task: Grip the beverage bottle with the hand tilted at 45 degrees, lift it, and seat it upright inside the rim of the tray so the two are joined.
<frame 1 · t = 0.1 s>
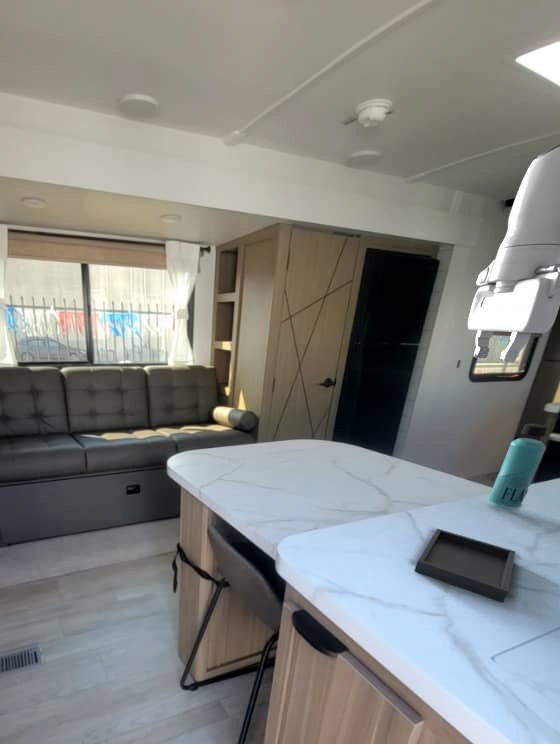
hand: (492, 360, 72), 33 cm above the table, tool pointing down, fingers open, 8 cm apart
beverage bottle: (501, 508, 97), on the table
tray: (464, 565, 72), on the table
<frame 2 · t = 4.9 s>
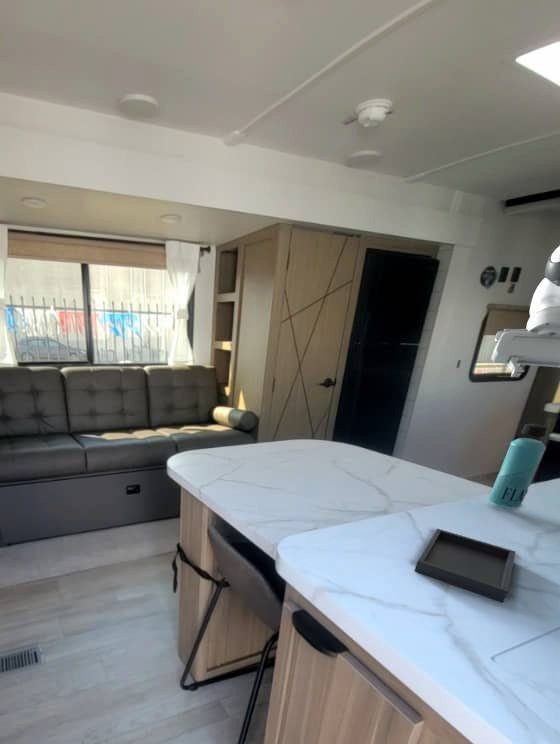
hand: (541, 377, 94), 29 cm above the table, tool tilted 45°, fingers open, 8 cm apart
nothing on the table moved.
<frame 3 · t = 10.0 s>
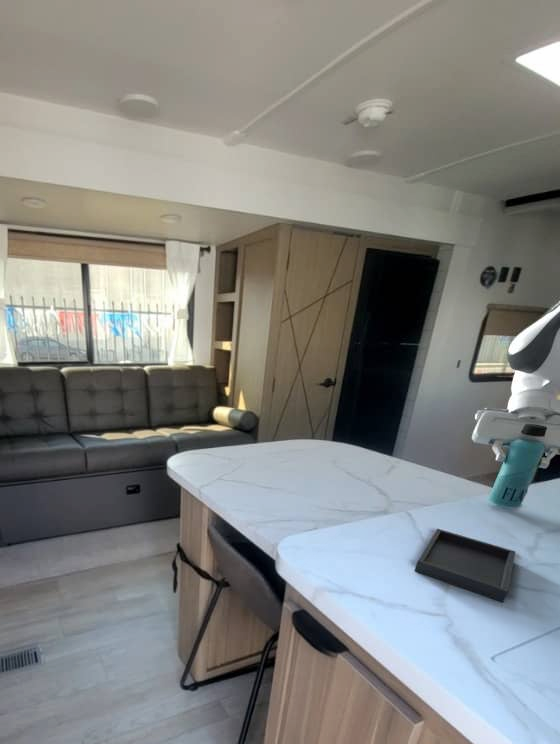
hand: (521, 463, 91), 11 cm above the table, tool tilted 45°, fingers closed on beverage bottle, 6 cm apart
beverage bottle: (501, 508, 97), on the table, touching gripper
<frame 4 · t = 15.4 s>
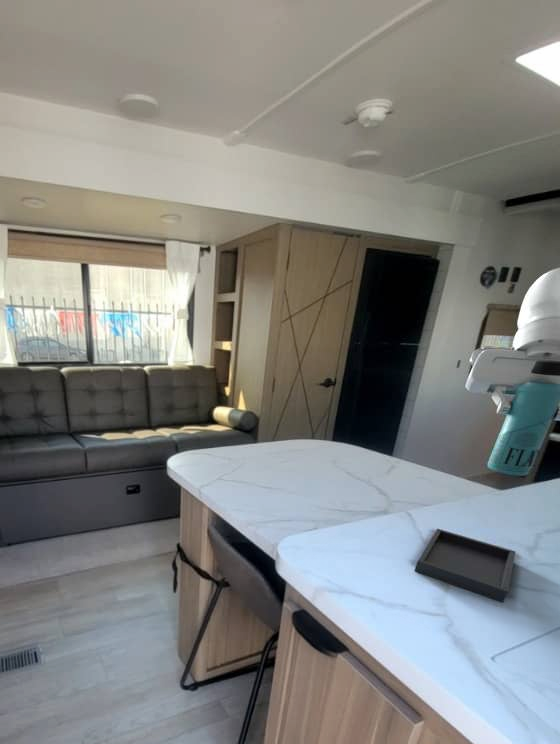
hand: (531, 415, 68), 26 cm above the table, tool tilted 45°, fingers closed on beverage bottle, 6 cm apart
beverage bottle: (503, 478, 74), point 14 cm above the table, touching gripper
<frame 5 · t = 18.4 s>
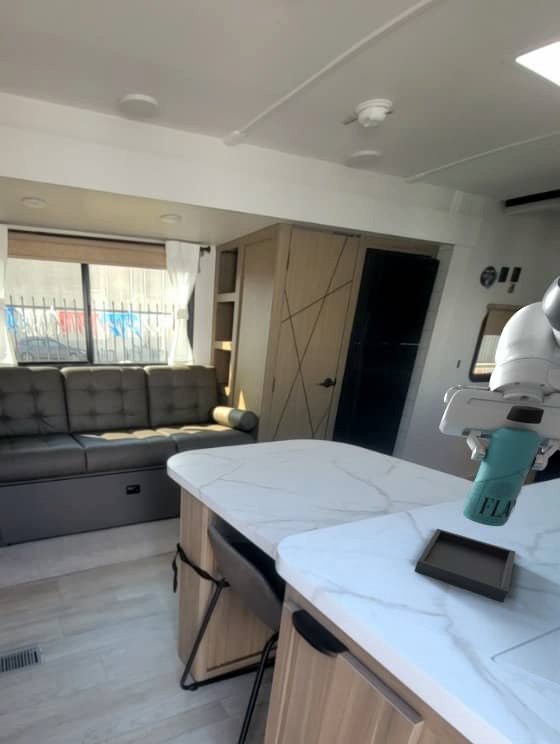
hand: (507, 463, 63), 19 cm above the table, tool tilted 45°, fingers closed on beverage bottle, 6 cm apart
beverage bottle: (479, 526, 69), point 8 cm above the table, touching gripper
when the fingers open (12 cm above the table, at t = 21.1 s): beverage bottle stays where it is, resting on tray.
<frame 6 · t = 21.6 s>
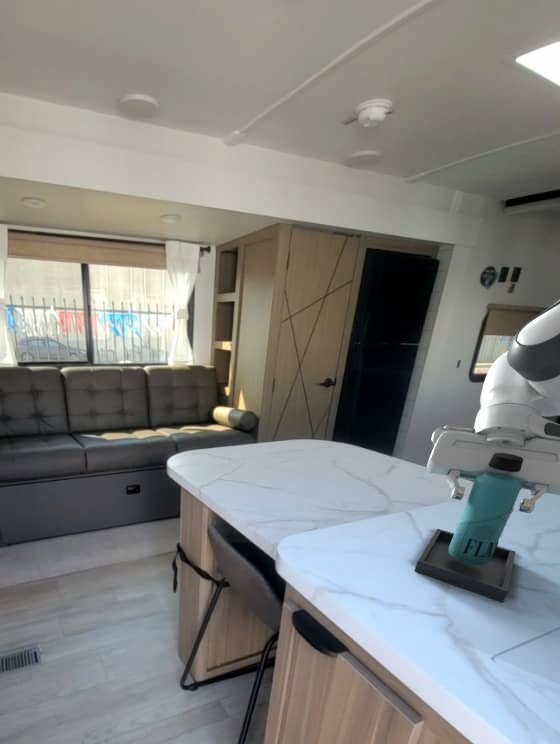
hand: (490, 504, 66), 12 cm above the table, tool tilted 45°, fingers open, 8 cm apart
beverage bottle: (464, 563, 72), resting on tray
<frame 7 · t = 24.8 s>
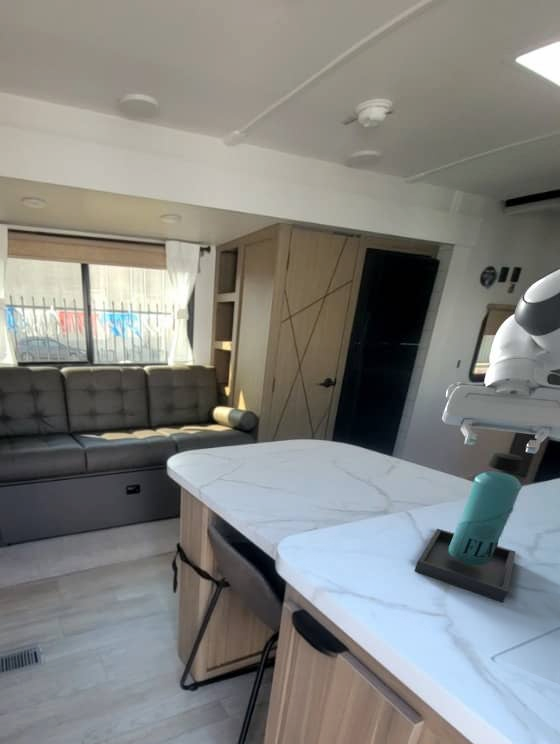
hand: (500, 447, 75), 19 cm above the table, tool tilted 45°, fingers open, 8 cm apart
nothing on the table moved.
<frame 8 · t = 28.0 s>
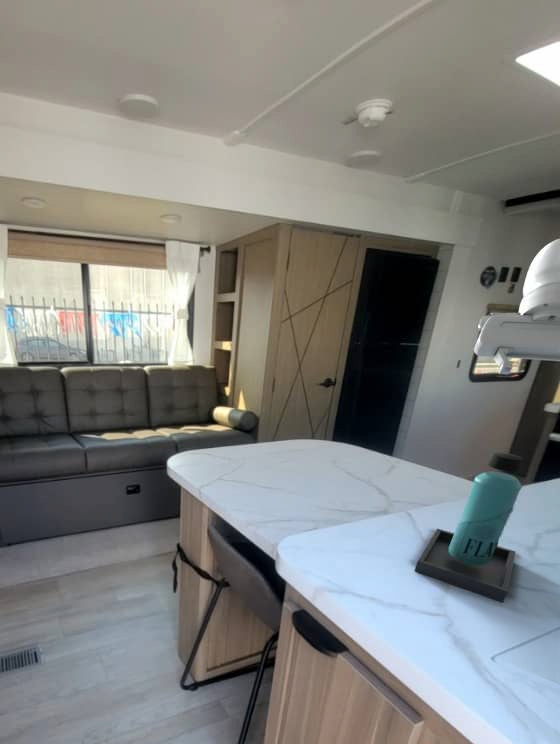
hand: (537, 374, 72), 31 cm above the table, tool tilted 45°, fingers open, 8 cm apart
nothing on the table moved.
at the end: beverage bottle inside the target area in the tray (0.0 cm from its centre), point 0.4 cm above the tray's base; beverage bottle tilted 0°; the gripper is holding nothing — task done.
